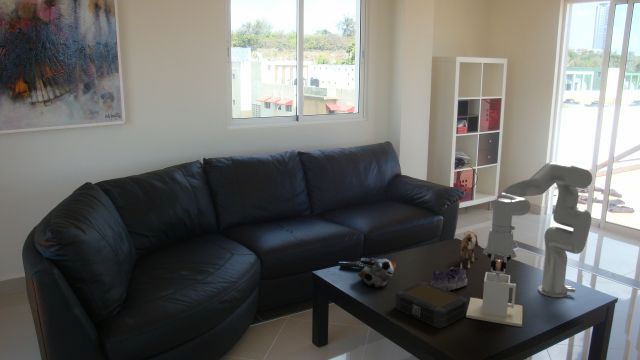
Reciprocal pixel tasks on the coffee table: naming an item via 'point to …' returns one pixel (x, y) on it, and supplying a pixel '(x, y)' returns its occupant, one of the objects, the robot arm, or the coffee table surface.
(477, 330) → the coffee table surface
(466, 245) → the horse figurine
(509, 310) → the square white mug
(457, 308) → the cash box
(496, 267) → the plunger
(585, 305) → the coffee table surface
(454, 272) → the geode
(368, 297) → the coffee table surface
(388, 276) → the lucky cat figurine
